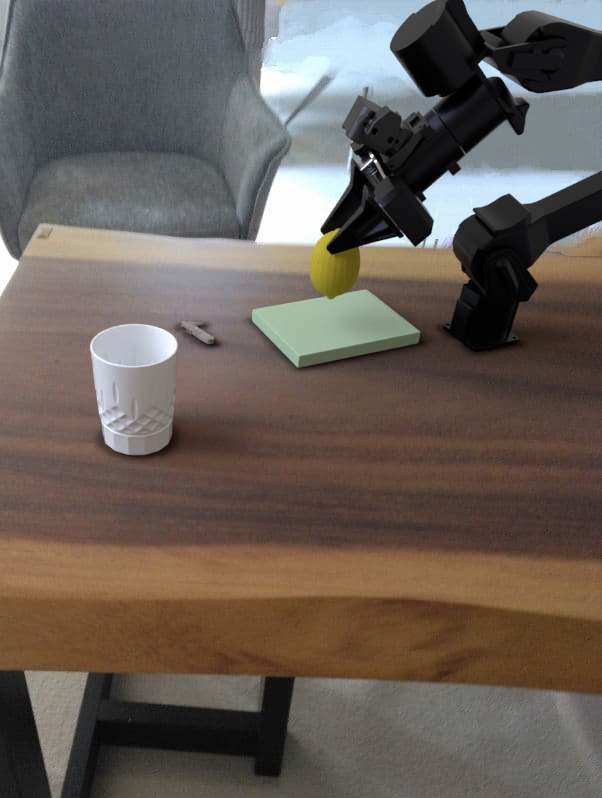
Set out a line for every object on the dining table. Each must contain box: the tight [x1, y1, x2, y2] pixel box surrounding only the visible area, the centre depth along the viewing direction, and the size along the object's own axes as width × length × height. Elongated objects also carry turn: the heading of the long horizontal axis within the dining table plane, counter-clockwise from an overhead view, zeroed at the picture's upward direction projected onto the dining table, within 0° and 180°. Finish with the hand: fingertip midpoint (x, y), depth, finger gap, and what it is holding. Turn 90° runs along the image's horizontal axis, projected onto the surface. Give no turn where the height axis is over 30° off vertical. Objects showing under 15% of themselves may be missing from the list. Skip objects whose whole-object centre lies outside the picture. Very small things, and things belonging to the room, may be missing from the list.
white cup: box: [89, 323, 179, 456], centre depth 75 cm, size 8×8×10 cm
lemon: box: [308, 228, 361, 299], centre depth 88 cm, size 6×6×8 cm
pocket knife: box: [180, 320, 215, 345], centre depth 93 cm, size 6×1×3 cm
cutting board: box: [251, 288, 421, 369], centre depth 94 cm, size 16×12×2 cm
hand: (325, 242), depth 86 cm, fingers closed on lemon, 4 cm apart
